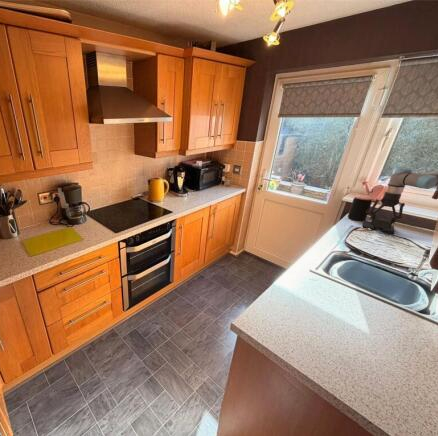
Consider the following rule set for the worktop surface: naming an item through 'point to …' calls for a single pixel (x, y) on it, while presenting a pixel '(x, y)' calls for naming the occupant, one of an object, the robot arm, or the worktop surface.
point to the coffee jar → (360, 207)
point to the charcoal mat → (368, 225)
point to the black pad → (381, 222)
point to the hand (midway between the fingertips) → (380, 225)
